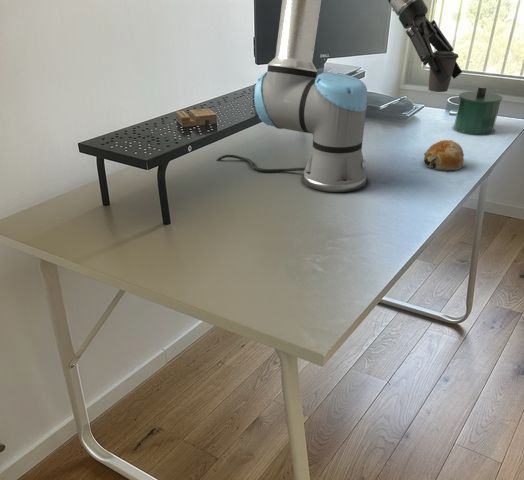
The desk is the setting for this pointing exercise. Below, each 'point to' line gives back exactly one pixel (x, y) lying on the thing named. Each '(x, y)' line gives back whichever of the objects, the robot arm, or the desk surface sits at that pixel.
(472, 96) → the pot lid
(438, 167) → the bread roll
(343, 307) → the desk surface
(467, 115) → the pot
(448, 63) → the coffee cup
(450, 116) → the desk surface
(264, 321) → the desk surface
